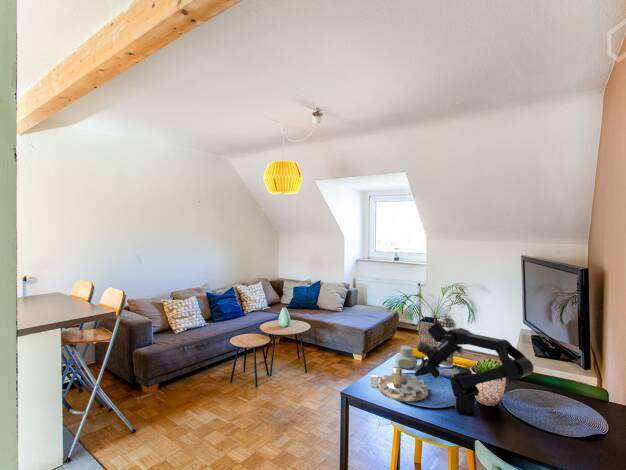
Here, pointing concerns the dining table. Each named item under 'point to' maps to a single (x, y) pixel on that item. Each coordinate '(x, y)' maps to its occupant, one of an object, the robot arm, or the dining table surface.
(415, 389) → the sprocket
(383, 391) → the sprocket base
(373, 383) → the pointer post
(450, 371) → the caliper
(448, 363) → the decorative candle
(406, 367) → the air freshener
